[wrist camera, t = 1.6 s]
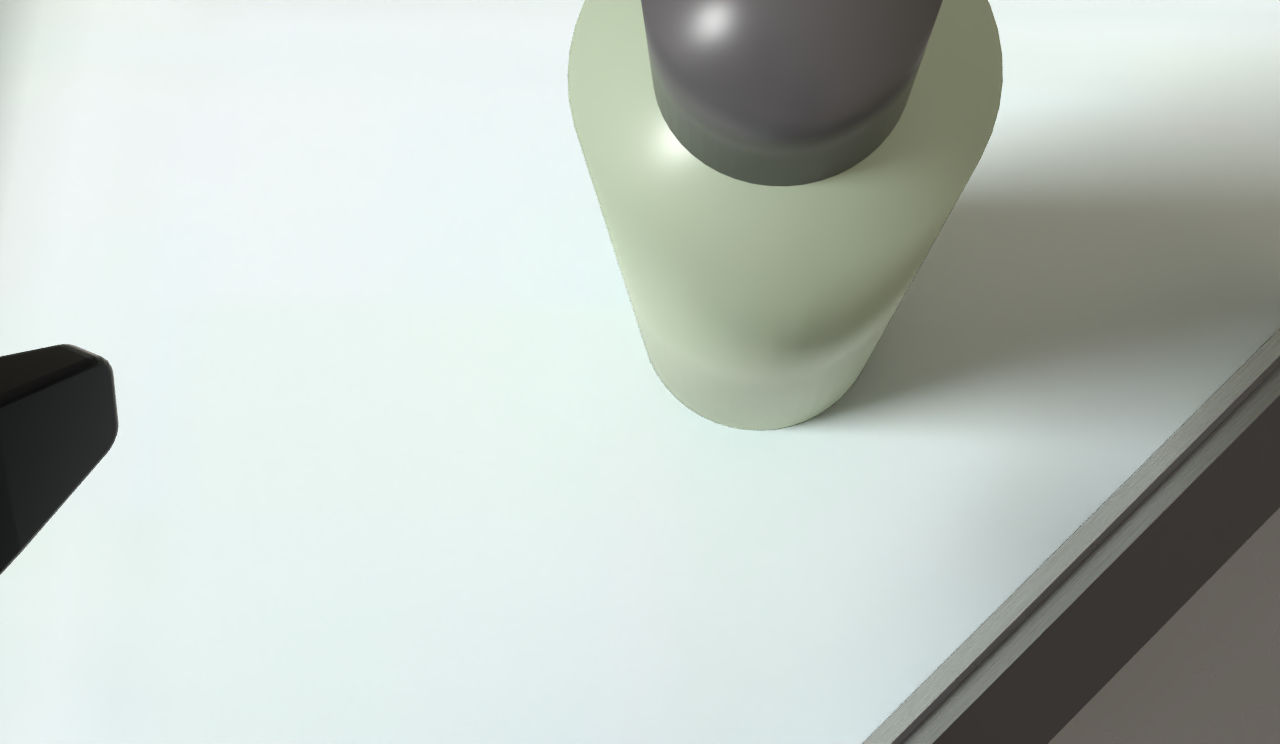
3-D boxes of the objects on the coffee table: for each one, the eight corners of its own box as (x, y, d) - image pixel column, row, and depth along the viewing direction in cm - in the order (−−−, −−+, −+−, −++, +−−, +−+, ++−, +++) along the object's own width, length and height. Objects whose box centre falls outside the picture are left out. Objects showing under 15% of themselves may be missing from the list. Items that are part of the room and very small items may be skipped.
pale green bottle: (827, 465, 21) (959, 277, 9) (605, 380, 22) (456, 102, 10) (908, 251, 22) (1124, -182, 10) (691, 175, 23) (650, -308, 11)
